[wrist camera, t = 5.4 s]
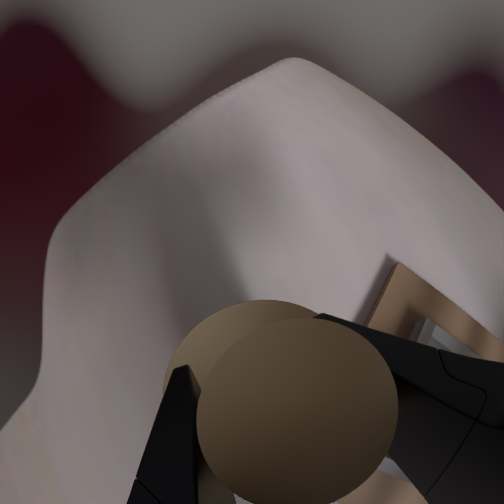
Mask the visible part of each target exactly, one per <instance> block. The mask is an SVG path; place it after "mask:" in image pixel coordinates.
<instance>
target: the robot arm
mask: <svg viewBox="0 0 504 504" xmlns="http://www.w3.org/2000/svg"><path fill="white" fill-rule="evenodd" d="M311 318H316V319H324V320H328V321H332V322H335V323H338V324H341V325H343V326H346V327H348V328H350V329H352V330H353V331H355V332H357V333H359V334H360V335H361V336H363V337H364V338H365V339H366V340H368V341H369V342H370V343H371V344H372V345H373V346H374V347H375V348H376V349H377V350H378V352H379V353H380V354H381V356H382V357H383V358H384V360H385V362H386V363H387V365H388V367H389V369H390V371H391V373H392V376H393V378H394V382H395V385H396V389H397V396H398V420H397V427H396V431H395V434H394V438H393V441H392V443H391V446H390V448H389V450H388V452H387V453H388V454H389V456H390V457H391V458H392V459H393V460H394V462H395V463H396V464H397V465H398V467H399V468H400V469H401V470H402V472H403V473H404V474H405V475H406V477H407V478H408V479H409V480H410V481H411V483H412V484H413V485H414V486H415V488H416V489H417V490H418V491H419V492H420V494H421V495H422V496H423V497H424V499H425V500H426V501H427V502H428V504H504V363H503V362H496V361H490V360H484V359H479V358H474V357H469V356H465V355H461V354H457V353H453V352H450V351H446V350H443V349H438V350H437V348H435V347H432V346H428V345H425V344H422V343H418V342H415V341H411V340H408V339H405V338H401V337H398V336H395V335H392V334H388V333H385V332H382V331H379V330H375V329H372V328H369V327H366V326H363V325H359V324H356V323H353V322H350V321H347V320H344V319H341V318H338V317H334V316H331V315H328V314H325V313H321V314H318V315H316V316H314V317H311ZM201 391H202V390H201V388H200V386H199V383H198V381H197V379H196V377H195V375H194V373H193V371H192V369H191V367H190V366H189V365H188V364H186V365H182V366H179V367H176V368H174V369H173V371H172V373H171V376H170V379H169V382H168V384H167V387H166V390H165V393H164V396H163V398H162V401H161V404H160V407H159V410H158V413H157V415H156V418H155V421H154V424H153V427H152V430H151V433H150V436H149V439H148V442H147V444H146V447H145V450H144V453H143V456H142V459H141V462H140V465H139V468H138V471H137V474H136V478H137V479H135V480H134V483H133V486H132V489H131V493H130V495H129V498H128V501H127V504H236V501H235V498H234V494H233V492H232V491H231V490H229V489H228V488H227V487H226V486H225V485H223V483H222V482H221V481H220V480H219V479H218V478H217V477H216V476H215V475H214V473H213V472H212V470H211V469H210V467H209V466H208V464H207V462H206V460H205V458H204V455H203V453H202V451H201V447H200V444H199V440H198V434H197V427H196V424H197V408H198V401H199V397H200V394H201Z"/></svg>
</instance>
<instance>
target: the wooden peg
mask: <svg viewBox="0 0 504 504" xmlns="http://www.w3.org/2000/svg"><path fill="white" fill-rule="evenodd" d="M316 315H318V314H317V313H315V312H313V311H312V310H309V309H307V308H305V307H302V306H300V305H296V304H293V303H289V302H284V301H277V300H255V301H247V302H242V303H238V304H234V305H232V306H229V307H226V308H223V309H221V310H219V311H217V312H215V313H213V314H212V315H210V316H209V317H207V318H206V319H204V320H203V321H201V322H200V323H199V324H198V325H197V326H195V327H194V328H193V329H192V330H191V331H190V332H189V333H188V334H187V336H186V337H185V338H184V339H183V340H182V342H181V343H180V345H179V346H178V348H177V349H176V351H175V353H174V355H173V357H172V359H171V361H170V363H169V366H168V369H167V372H166V375H165V381H164V387H163V396H164V393H165V390H166V387H167V384H168V382H169V379H170V376H171V373H172V371H173V369H174V368H176V367H179V366H182V365H186V364H188V365H189V366H190V367H191V369H192V371H193V373H194V375H195V377H196V379H197V381H198V383H199V386H200V388H201V390H202V391H201V394H200V397H199V401H198V408H197V424H196V427H197V434H198V440H199V444H200V447H201V451H202V453H203V455H204V458H205V460H206V462H207V464H208V466H209V467H210V469H211V470H212V472H213V473H214V475H215V476H216V477H217V478H218V479H219V480H220V481H221V482H222V483H223V485H225V486H226V487H227V488H228V489H229V490H231V491H232V492H233V493H235V494H236V495H238V496H240V497H241V498H243V499H244V500H247V501H249V502H251V503H254V504H329V503H332V502H335V501H337V500H339V499H341V498H343V497H344V496H346V495H348V494H349V493H351V492H352V491H354V490H355V489H357V488H358V487H359V486H360V485H362V484H363V483H364V482H365V481H366V480H367V479H368V478H369V477H370V476H371V475H372V474H373V473H374V472H375V471H376V469H377V468H378V466H379V465H380V464H381V462H382V461H383V459H384V457H385V456H386V454H387V452H388V450H389V448H390V446H391V443H392V441H393V438H394V434H395V431H396V427H397V420H398V396H397V389H396V385H395V382H394V378H393V376H392V373H391V371H390V369H389V367H388V365H387V363H386V362H385V360H384V358H383V357H382V356H381V354H380V353H379V352H378V350H377V349H376V348H375V347H374V346H373V345H372V344H371V343H370V342H369V341H368V340H366V339H365V338H364V337H363V336H361V335H360V334H359V333H357V332H355V331H353V330H352V329H350V328H348V327H346V326H343V325H341V324H338V323H335V322H332V321H328V320H324V319H316V318H311V317H314V316H316Z"/></svg>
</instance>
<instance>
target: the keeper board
mask: <svg viewBox="0 0 504 504" xmlns="http://www.w3.org/2000/svg"><path fill="white" fill-rule="evenodd" d="M364 326H366V327H369V328H372V329H375V330H379V331H382V332H385V333H388V334H392V335H395V336H398V337H401V338H405V339H408V340H411V341H415V342H418V343H422V344H425V345H428V346H432V347H435V348H437V350H438V349H443V350H446V351H450V352H453V353H457V354H461V355H465V356H469V357H474V358H479V359H484V360H490V361H496V362H503V363H504V344H503V343H502V342H500V341H499V340H498V339H497V338H496V337H495V336H493V335H492V334H491V333H490V332H489V331H487V330H486V329H485V328H484V327H483V326H482V325H480V324H479V323H478V322H477V321H475V320H474V319H473V318H472V317H471V316H469V315H468V314H467V313H466V312H464V311H463V310H462V309H461V308H459V307H458V306H457V305H456V304H454V303H453V302H452V301H451V300H449V299H448V298H447V297H445V296H444V295H443V294H442V293H440V292H439V291H438V290H436V289H435V288H434V287H432V286H431V285H430V284H429V283H427V282H426V281H425V280H423V279H422V278H421V277H419V276H418V275H416V274H415V273H414V272H412V271H411V270H410V269H408V268H407V267H406V266H404V265H403V264H401V263H400V262H398V263H396V264H395V265H394V266H393V267H392V269H391V271H390V274H389V276H388V278H387V280H386V282H385V284H384V286H383V288H382V290H381V292H380V294H379V297H378V299H377V301H376V303H375V304H374V306H373V308H372V310H371V312H370V314H369V316H368V318H367V320H366V322H365V324H364ZM336 502H338V503H341V504H428V502H427V501H426V500H425V499H424V497H423V496H422V495H421V494H420V492H419V491H418V490H417V489H416V488H415V486H414V485H413V484H412V483H411V481H410V480H409V479H408V478H407V477H406V475H405V474H404V473H403V472H402V470H401V469H400V468H399V467H398V465H397V464H396V463H395V462H394V460H393V459H392V458H391V457H390V456H389V454H388V453H387V454H386V456H385V457H384V459H383V461H382V462H381V464H380V465H379V466H378V468H377V469H376V471H375V472H374V473H373V474H372V475H371V476H370V477H369V478H368V479H367V480H366V481H365V482H364V483H363V484H362V485H360V486H359V487H358V488H357V489H355V490H354V491H352V492H351V493H349V494H348V495H346V496H344V497H343V498H341V499H339V500H337V501H336Z"/></svg>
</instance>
